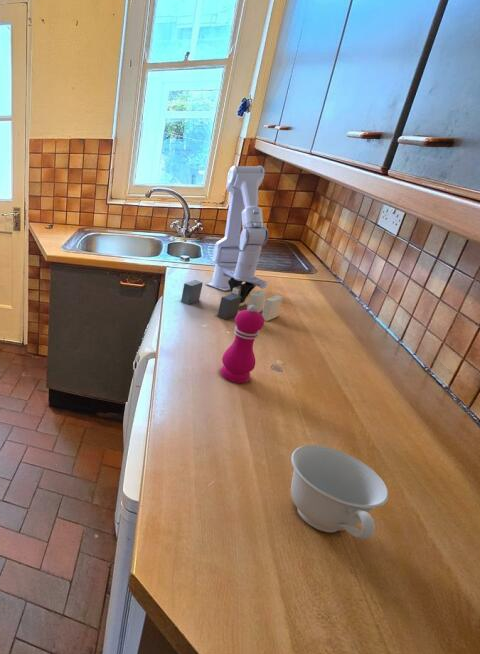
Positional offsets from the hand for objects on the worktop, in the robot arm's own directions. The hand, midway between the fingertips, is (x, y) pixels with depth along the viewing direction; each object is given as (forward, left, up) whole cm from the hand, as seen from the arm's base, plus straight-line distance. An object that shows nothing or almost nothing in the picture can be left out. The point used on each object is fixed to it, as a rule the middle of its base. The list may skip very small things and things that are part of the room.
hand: (237, 300), depth 140 cm
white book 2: (0, +11, -2) cm, 11 cm away
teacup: (+67, +56, -2) cm, 88 cm away
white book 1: (0, +6, -2) cm, 6 cm away
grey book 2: (+10, +3, -2) cm, 11 cm away
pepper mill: (+40, +24, -2) cm, 47 cm away
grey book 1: (+10, -11, -2) cm, 15 cm away
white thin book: (0, 0, -2) cm, 2 cm away
